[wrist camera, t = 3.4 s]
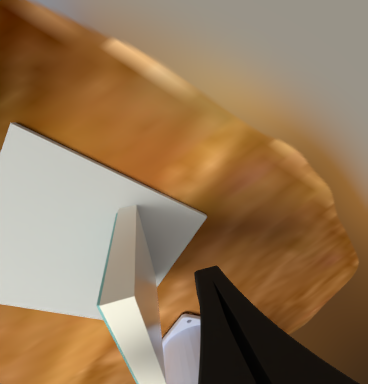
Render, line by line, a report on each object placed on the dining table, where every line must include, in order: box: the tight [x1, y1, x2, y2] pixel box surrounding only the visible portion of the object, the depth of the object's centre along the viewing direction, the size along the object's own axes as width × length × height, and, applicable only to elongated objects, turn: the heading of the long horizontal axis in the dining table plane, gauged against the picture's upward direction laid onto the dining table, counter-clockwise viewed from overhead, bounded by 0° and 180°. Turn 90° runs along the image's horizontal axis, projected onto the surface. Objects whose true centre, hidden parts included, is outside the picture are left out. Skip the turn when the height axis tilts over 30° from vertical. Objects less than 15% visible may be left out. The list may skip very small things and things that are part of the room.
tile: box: [96, 205, 166, 384], centre depth 11 cm, size 1×7×7 cm, turn 7°
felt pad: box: [0, 123, 207, 320], centre depth 14 cm, size 13×13×1 cm
